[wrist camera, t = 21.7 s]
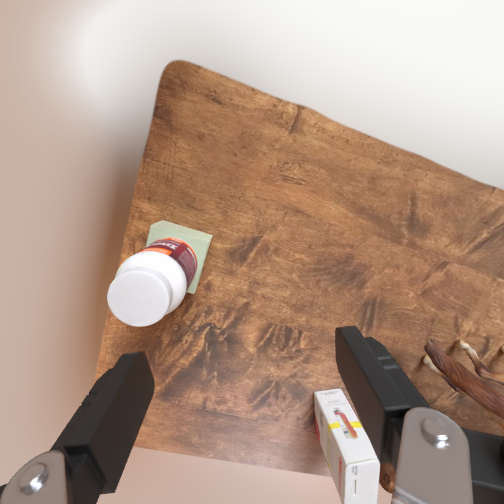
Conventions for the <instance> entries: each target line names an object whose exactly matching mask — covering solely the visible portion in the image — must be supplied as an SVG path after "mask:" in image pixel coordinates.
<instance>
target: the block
mask: <svg viewBox="0 0 504 504" xmlns="http://www.w3.org/2000/svg"><path fill="white" fill-rule="evenodd" d="M212 236H213V235H210V234H207V233H204V232H201V231H197V230H194V229H191V228H187V227H184V226H181V225H177V224H174V223H171V222H168V221H164V220H162V221H159V222H157V223H154V224H152V225H151V227H150V231H149V235H148V239H147V243H146V247H147V246H148V245H150V244H152V243H153V242H155V241H157V240H159V239H161V238H166V237H175V238H179V239H182V240H184V241H185V242H187V243H188V244H189V245H190V246H191V247H192V248H193V249H194V251H195V253H196V256H197V260H198V266H197V271H196V274H195V276H194V278H193V280H192V282H191V284H190V286H189V288H188V290H187V293H191V294H195V291H196V289H197V286H198V283H199V280H200V277H201V273H202V270H203V267H204V263H205V260H206V257H207V253H208V250H209V246H210V243H211V240H212Z"/></svg>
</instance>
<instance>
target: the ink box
mask: <svg viewBox="0 0 504 504" xmlns="http://www.w3.org/2000/svg"><path fill="white" fill-rule="evenodd" d="M314 403H315V428H316V433H317V436H318V439H319V441H320V444H321V447H322V450H323V452H324V455H325V458H326V461H327V463H328V466H329V469H330V471H331V474H332V477H333V480H334V483H335V485H336V488H337V491H338V493H339V496H340V499H341V502H342V504H377V496H378V486H379V475H380V463H379V460H378V458H377V456H376V454H375V451H374V449H373V447H372V445H371V442H370V440H369V438H368V436H367V434H366V433H365V431H364V429H363V427H362V426H361V424H360V422H359V420H358V419H357V417H356V415H355V413H354V411H353V410H352V408H351V406H350V404H349V403H348V401H347V399H346V397H345V395H344V394H343V392H342V390H341V389H331V390H324V391H318V392H314Z"/></svg>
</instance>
